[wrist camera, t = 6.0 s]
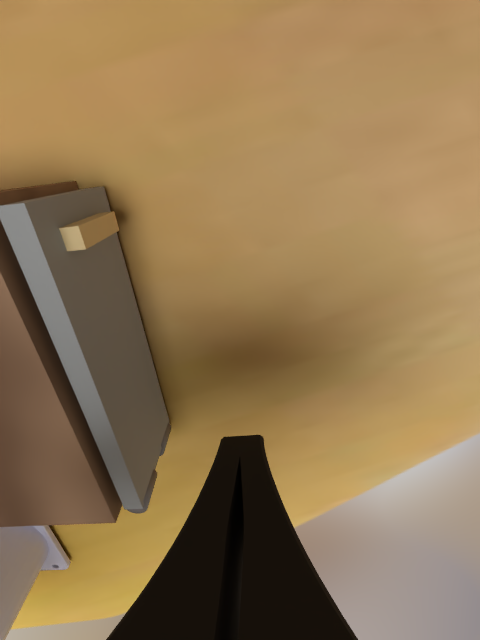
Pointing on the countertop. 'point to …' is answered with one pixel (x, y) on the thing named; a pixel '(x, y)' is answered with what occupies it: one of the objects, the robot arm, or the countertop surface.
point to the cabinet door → (95, 329)
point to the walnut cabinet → (42, 411)
